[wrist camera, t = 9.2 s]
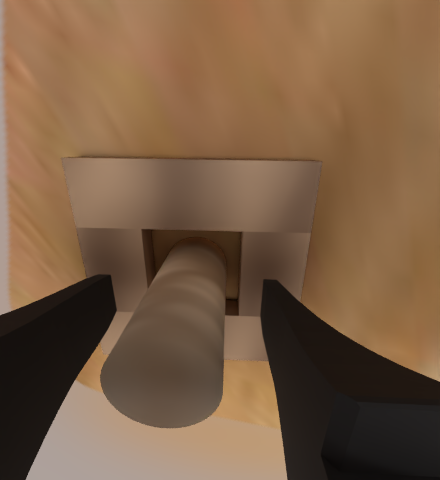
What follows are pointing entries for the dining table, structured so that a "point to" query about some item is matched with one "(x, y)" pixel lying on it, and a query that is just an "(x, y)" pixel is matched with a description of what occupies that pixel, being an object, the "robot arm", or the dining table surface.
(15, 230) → the dining table surface
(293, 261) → the socket block
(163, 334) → the peg
